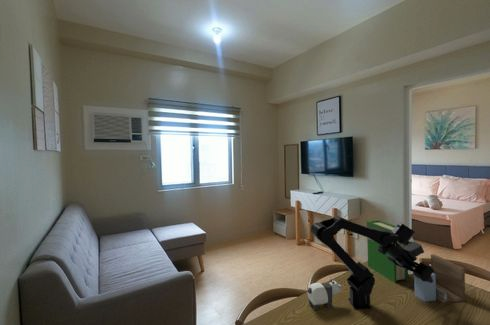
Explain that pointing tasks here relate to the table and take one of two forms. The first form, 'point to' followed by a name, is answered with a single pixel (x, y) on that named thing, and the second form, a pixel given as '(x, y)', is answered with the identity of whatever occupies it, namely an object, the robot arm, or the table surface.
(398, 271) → the hardback book
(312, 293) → the giant panda
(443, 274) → the wooden display stand
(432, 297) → the blue-grey rectangular block
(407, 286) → the table surface
